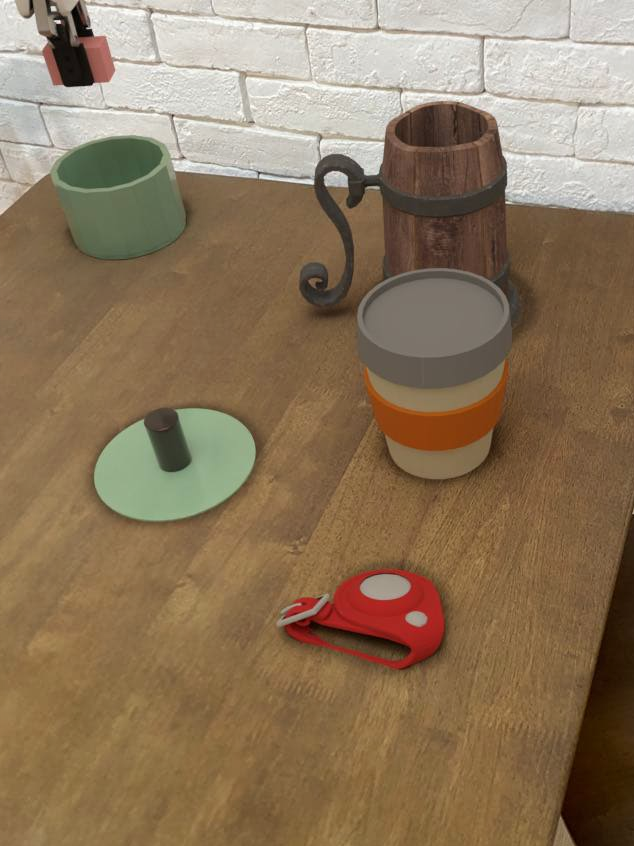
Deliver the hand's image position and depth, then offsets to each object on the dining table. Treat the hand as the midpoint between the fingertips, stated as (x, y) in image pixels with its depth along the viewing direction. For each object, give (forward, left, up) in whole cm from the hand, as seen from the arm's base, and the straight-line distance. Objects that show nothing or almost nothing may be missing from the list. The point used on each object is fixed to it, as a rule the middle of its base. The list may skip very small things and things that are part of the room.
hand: (83, 76), depth 99 cm
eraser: (0, 0, 0) cm, 0 cm away
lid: (+12, -41, -19) cm, 46 cm away
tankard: (+34, -18, -19) cm, 43 cm away
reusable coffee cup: (+36, -39, -19) cm, 57 cm away
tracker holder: (+30, -58, -19) cm, 69 cm away
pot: (-1, +3, -19) cm, 19 cm away
